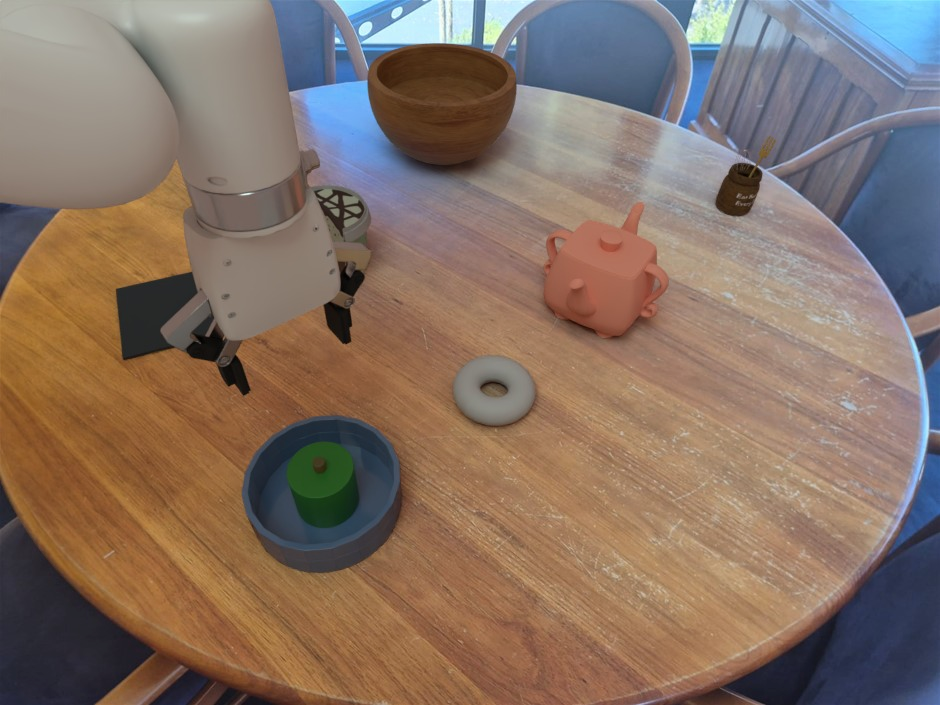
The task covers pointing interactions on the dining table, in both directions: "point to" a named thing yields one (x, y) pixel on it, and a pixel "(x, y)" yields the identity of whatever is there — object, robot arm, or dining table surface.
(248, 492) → the serving bowl
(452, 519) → the dining table surface
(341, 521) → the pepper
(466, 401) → the donut
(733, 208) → the utensil holder
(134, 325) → the mat
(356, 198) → the food container
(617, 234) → the teapot
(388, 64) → the bowl
